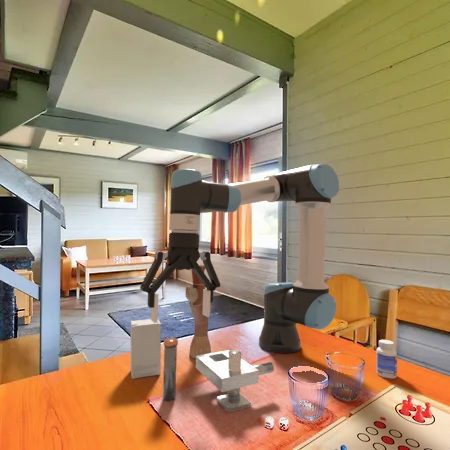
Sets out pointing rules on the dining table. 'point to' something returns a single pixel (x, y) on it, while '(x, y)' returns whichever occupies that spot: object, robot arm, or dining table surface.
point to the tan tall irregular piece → (198, 317)
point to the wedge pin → (170, 369)
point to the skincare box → (145, 348)
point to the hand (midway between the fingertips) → (181, 318)
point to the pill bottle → (386, 359)
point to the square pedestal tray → (231, 376)
